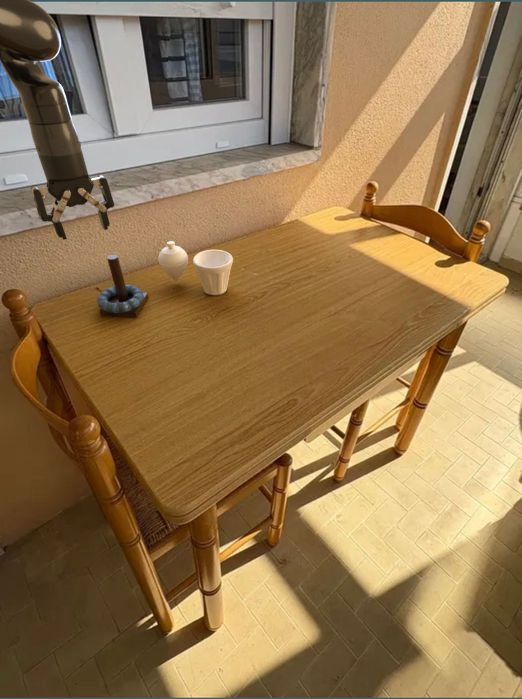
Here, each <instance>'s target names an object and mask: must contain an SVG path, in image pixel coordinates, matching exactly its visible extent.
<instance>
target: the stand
mask: <svg viewBox="0 0 522 699" xmlns="http://www.w3.org/2000/svg"><path fill="white" fill-rule="evenodd" d="M106 260H107V263H108V264H107V265H108V267H109V270H110V271H109V272H110V275H111V277H112V281H113V286H115V289H116V292H117V295H115V296H113V297H111V298H110V299H109V300H108V301H109V302H111V303H121V302H126V301H128V300H130V299H131V298H132V297H133V295H131V294H127V290H126V286H125V284H126V283H125V279H124V275H123V271H122V267H121V264H120V263H121V262H120V259H119V256H118V255H117V254H110V255H109V254H108V255H107V257H106ZM142 292H143V291H142ZM143 295H144V299H143V301H142V302H141V304H140V305H139V306H138V307H136V308H135V309H133V310H131V311H128V312H123V313H108V312H106V311H104V310H102V309H101V308H99V310H98V311H99V313H100V316H103V317H104V316H105V317H118V318H119V317H120V318H134V319H137V318H138V316H139V315H140V313H141V311H142V310H143V308H144V306H145V304H146V303H147V301H148V300H149V293H148V292H143Z"/></svg>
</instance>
